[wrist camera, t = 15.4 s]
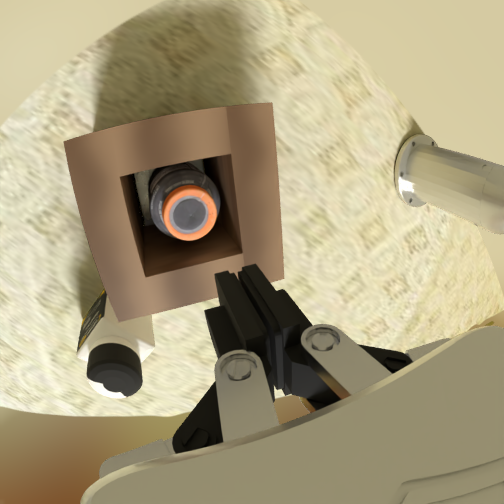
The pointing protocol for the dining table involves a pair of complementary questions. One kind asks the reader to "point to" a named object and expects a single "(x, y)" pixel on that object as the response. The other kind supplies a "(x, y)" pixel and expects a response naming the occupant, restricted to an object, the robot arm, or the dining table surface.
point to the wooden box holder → (150, 237)
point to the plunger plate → (142, 188)
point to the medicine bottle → (114, 349)
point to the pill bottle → (183, 201)
